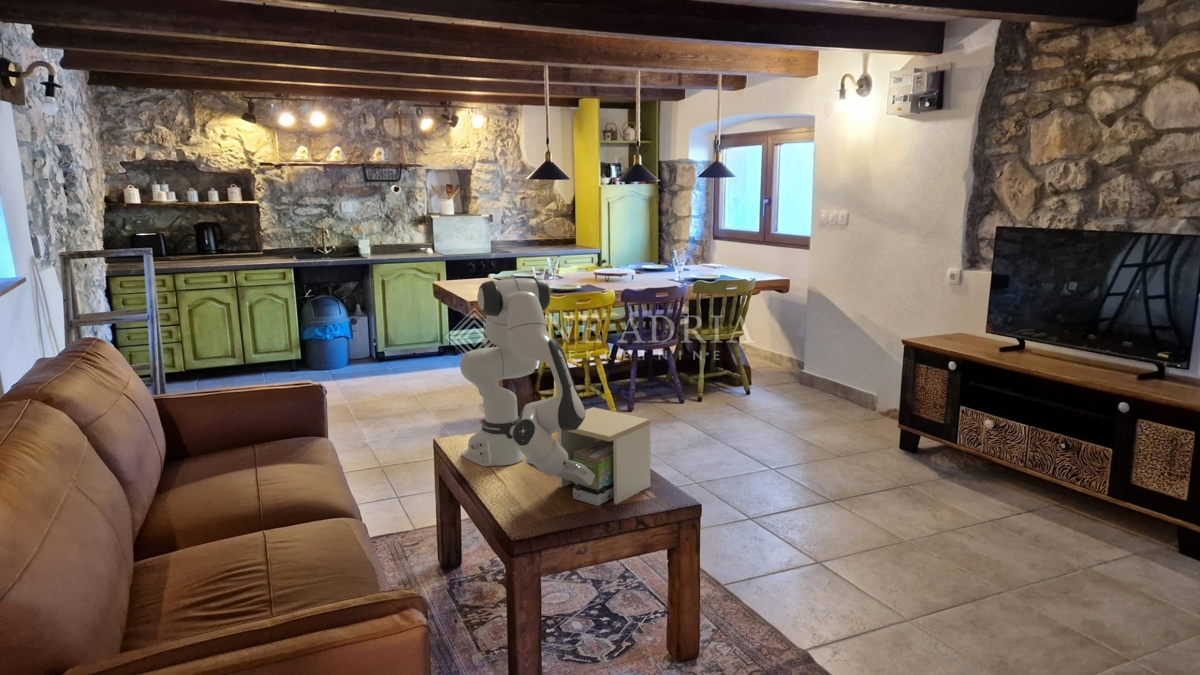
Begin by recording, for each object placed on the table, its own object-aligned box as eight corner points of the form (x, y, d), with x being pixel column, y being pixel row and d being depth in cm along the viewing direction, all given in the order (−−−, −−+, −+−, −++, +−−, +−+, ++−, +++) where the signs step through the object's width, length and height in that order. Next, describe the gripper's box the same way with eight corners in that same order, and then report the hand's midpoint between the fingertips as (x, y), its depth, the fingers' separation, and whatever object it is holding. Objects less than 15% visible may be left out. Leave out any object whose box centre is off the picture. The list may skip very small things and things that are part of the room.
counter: (552, 489, 232) (551, 422, 228) (593, 470, 248) (592, 407, 244) (610, 508, 219) (610, 436, 214) (650, 486, 234) (650, 419, 230)
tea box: (599, 507, 219) (598, 458, 216) (572, 499, 225) (571, 451, 222) (628, 490, 231) (628, 444, 228) (602, 483, 237) (601, 437, 234)
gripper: (585, 456, 208) (607, 479, 218) (531, 442, 221) (554, 464, 230) (575, 477, 206) (598, 499, 215) (520, 461, 218) (544, 482, 227)
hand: (575, 481), depth 223 cm, fingers closed
